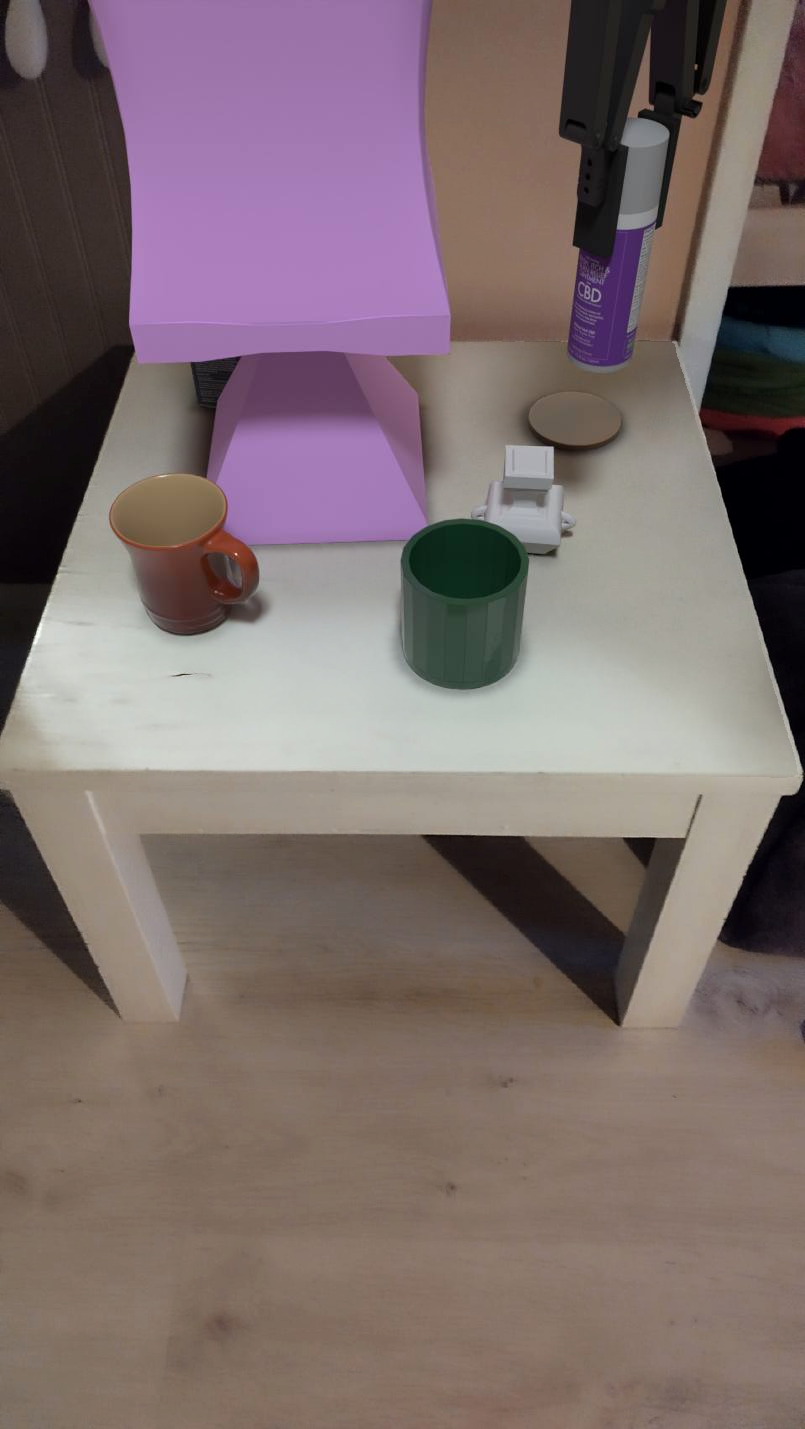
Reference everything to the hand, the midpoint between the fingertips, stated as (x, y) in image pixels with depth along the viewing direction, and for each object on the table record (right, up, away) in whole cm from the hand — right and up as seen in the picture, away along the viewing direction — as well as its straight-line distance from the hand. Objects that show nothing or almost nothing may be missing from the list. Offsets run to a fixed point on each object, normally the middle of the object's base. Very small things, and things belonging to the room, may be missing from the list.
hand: (617, 235), depth 67 cm
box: (-31, +2, +37) cm, 48 cm away
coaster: (+3, -3, +32) cm, 32 cm away
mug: (-30, -24, +16) cm, 41 cm away
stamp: (-4, -16, +22) cm, 27 cm away
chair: (-22, -9, +28) cm, 37 cm away
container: (0, -6, +7) cm, 9 cm away
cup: (-10, -26, +13) cm, 31 cm away
